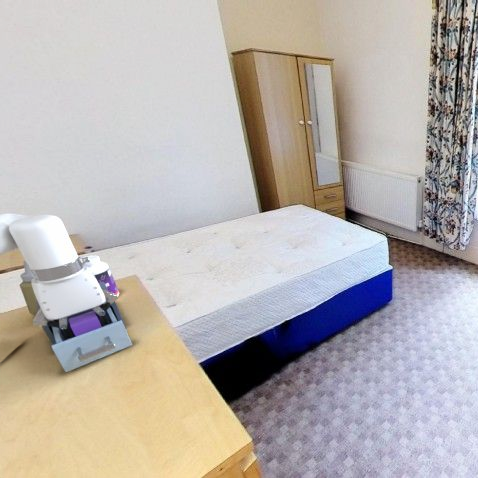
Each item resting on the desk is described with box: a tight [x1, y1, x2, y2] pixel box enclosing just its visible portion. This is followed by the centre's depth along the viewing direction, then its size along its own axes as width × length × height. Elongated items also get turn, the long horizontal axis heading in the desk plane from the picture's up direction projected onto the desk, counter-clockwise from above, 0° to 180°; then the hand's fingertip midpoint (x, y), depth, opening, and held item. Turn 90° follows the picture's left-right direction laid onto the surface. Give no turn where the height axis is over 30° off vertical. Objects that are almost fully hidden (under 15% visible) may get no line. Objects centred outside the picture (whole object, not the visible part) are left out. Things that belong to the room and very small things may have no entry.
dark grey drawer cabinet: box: [36, 282, 127, 346], centre depth 87 cm, size 15×13×9 cm
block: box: [68, 311, 101, 337], centre depth 79 cm, size 5×5×5 cm
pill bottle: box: [80, 254, 120, 298], centre depth 98 cm, size 8×8×14 cm
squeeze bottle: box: [19, 260, 38, 317], centre depth 90 cm, size 8×8×18 cm
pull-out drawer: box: [51, 307, 133, 373], centre depth 79 cm, size 19×12×7 cm, turn 51°
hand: (89, 332), depth 80 cm, fingers closed on block, 4 cm apart
